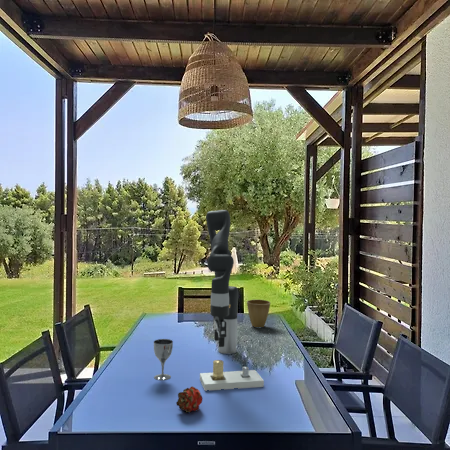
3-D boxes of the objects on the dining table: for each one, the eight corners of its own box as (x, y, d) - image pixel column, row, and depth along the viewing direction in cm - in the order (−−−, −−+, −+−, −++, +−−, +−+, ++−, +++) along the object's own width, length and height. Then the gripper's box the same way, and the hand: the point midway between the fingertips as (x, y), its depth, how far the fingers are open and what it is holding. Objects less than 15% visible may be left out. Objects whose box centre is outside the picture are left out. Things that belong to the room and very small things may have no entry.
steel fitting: (241, 381, 170) (241, 366, 170) (247, 380, 171) (247, 366, 171) (243, 383, 168) (243, 368, 168) (249, 383, 168) (249, 368, 168)
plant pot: (242, 325, 266) (242, 300, 266) (262, 323, 272) (262, 299, 272) (253, 330, 252) (254, 304, 252) (274, 328, 259) (274, 303, 259)
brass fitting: (211, 382, 168) (212, 360, 168) (221, 381, 169) (222, 359, 169) (213, 386, 164) (214, 363, 164) (224, 385, 165) (224, 363, 165)
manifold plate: (199, 379, 171) (199, 373, 171) (255, 375, 176) (255, 370, 176) (204, 390, 159) (204, 384, 159) (263, 386, 165) (263, 380, 165)
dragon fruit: (182, 423, 136) (191, 412, 148) (203, 409, 136) (210, 399, 148) (169, 400, 138) (178, 391, 150) (189, 386, 138) (197, 378, 149)
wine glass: (153, 381, 168) (154, 344, 168) (152, 374, 175) (152, 339, 175) (173, 379, 170) (174, 343, 170) (170, 373, 177) (171, 338, 177)
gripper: (207, 300, 173) (206, 338, 173) (214, 307, 159) (213, 349, 159) (224, 300, 174) (224, 338, 174) (233, 307, 160) (232, 348, 161)
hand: (219, 343), depth 167 cm, fingers open, 8 cm apart
